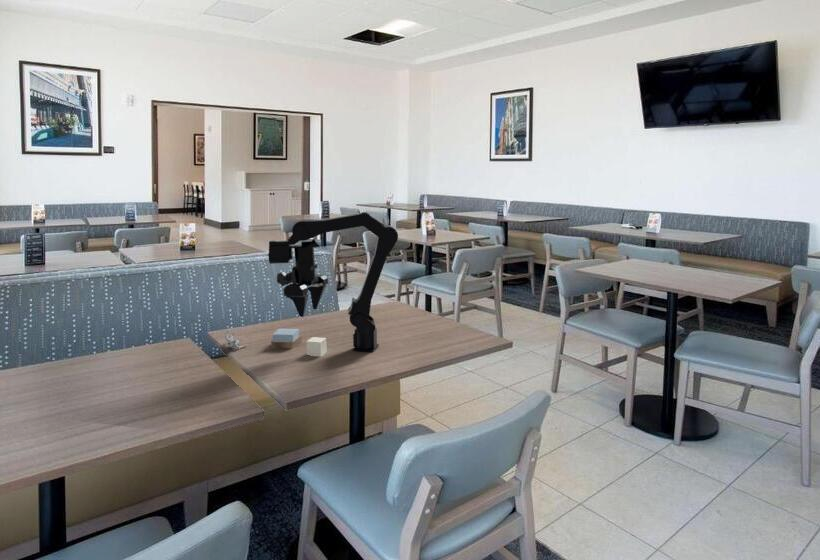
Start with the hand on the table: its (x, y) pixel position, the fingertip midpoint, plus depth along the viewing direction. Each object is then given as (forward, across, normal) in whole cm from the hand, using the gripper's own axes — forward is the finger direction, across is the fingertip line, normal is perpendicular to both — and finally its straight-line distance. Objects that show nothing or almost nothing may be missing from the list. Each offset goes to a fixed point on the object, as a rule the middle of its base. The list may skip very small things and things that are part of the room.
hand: (308, 312), depth 177 cm
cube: (+12, +2, +3) cm, 13 cm away
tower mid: (+10, -4, -10) cm, 15 cm away
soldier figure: (+12, +3, -26) cm, 28 cm away
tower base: (+12, -4, -10) cm, 17 cm away
